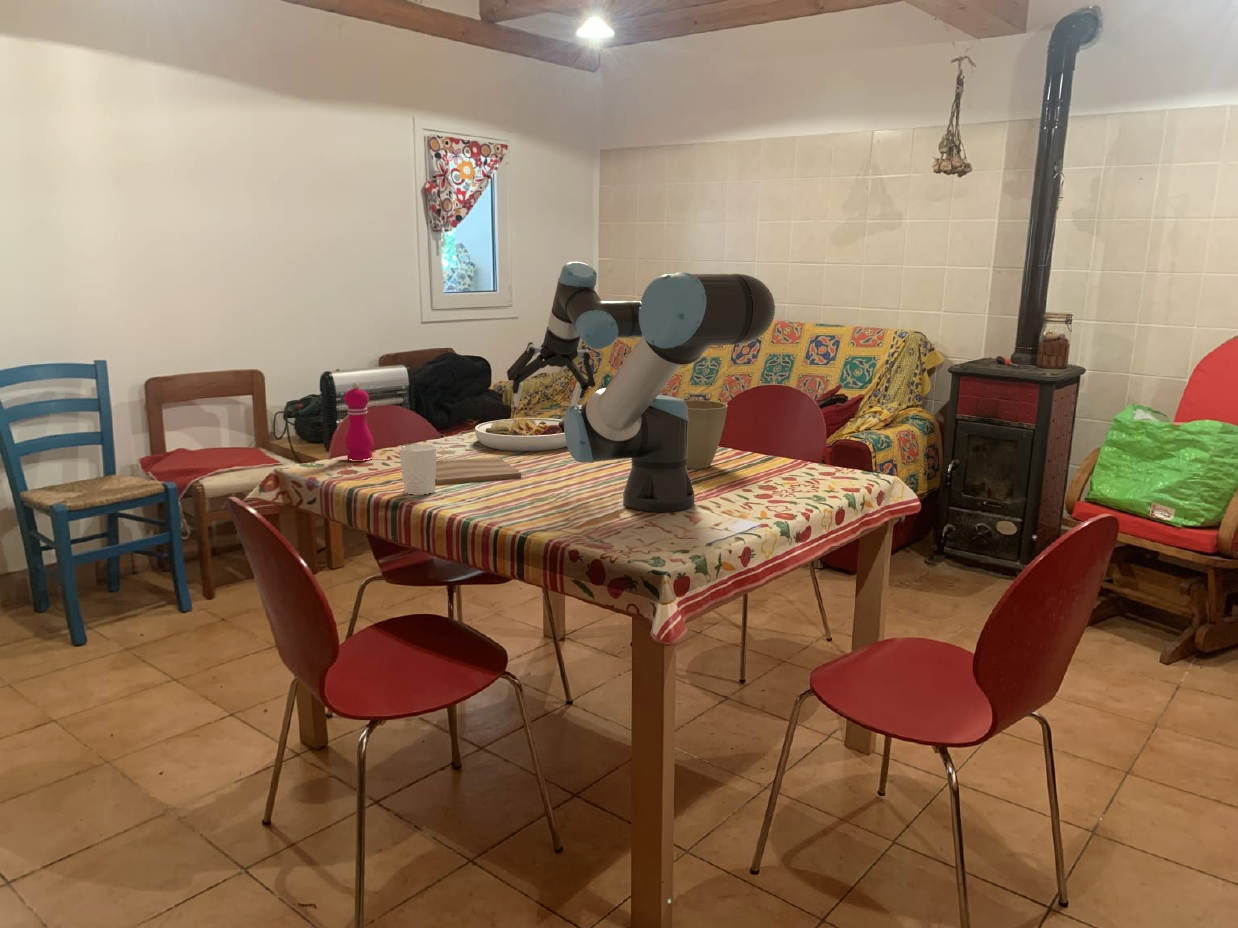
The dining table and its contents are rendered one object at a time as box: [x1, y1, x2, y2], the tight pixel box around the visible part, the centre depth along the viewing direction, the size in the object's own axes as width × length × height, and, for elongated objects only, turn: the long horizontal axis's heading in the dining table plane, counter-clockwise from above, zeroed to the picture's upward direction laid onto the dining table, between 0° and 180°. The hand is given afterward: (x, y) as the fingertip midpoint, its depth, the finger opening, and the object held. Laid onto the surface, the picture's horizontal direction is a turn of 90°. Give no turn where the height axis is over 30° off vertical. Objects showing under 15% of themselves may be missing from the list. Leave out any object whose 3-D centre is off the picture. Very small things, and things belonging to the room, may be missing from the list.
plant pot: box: [683, 399, 729, 470], centre depth 224 cm, size 15×15×16 cm
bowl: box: [474, 417, 568, 452], centre depth 255 cm, size 30×30×8 cm
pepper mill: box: [343, 382, 375, 460], centre depth 229 cm, size 7×7×20 cm
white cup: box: [399, 443, 437, 496], centre depth 197 cm, size 8×8×10 cm
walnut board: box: [435, 456, 522, 486], centre depth 217 cm, size 20×20×1 cm
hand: (544, 405), depth 206 cm, fingers open, 13 cm apart
